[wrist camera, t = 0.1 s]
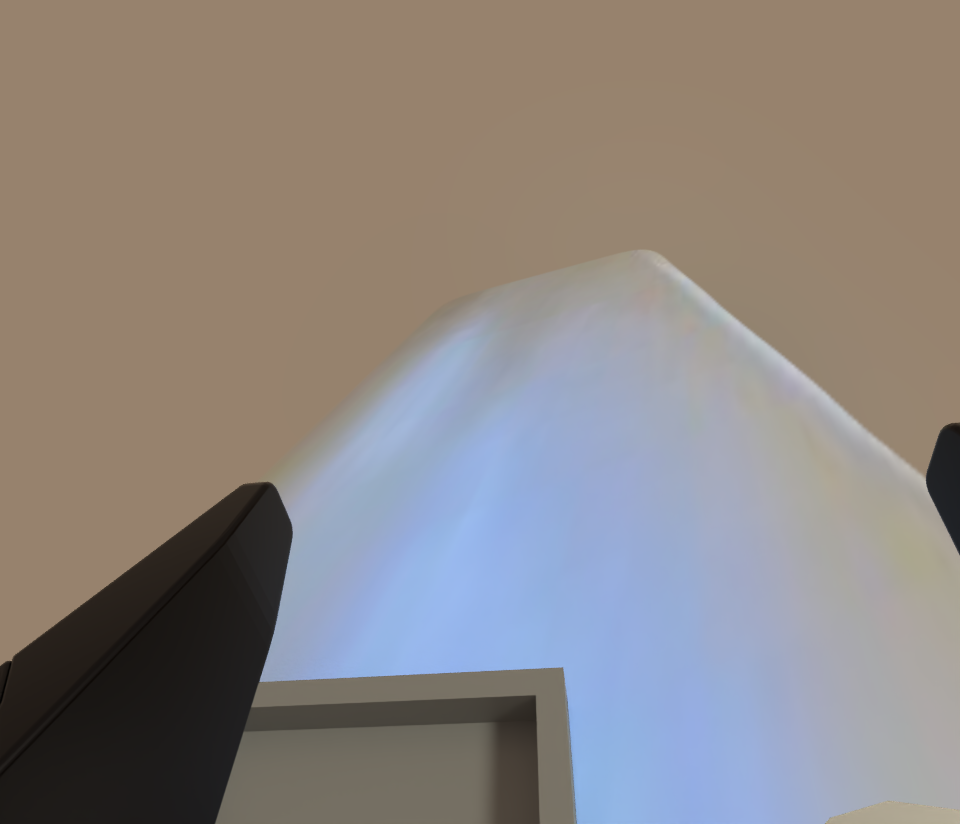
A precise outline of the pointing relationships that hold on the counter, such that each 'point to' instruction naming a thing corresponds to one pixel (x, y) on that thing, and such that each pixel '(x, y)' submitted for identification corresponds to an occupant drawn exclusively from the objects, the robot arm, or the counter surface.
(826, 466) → the counter surface
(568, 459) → the counter surface
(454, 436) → the counter surface
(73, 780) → the robot arm
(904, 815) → the cream cup
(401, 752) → the tray
